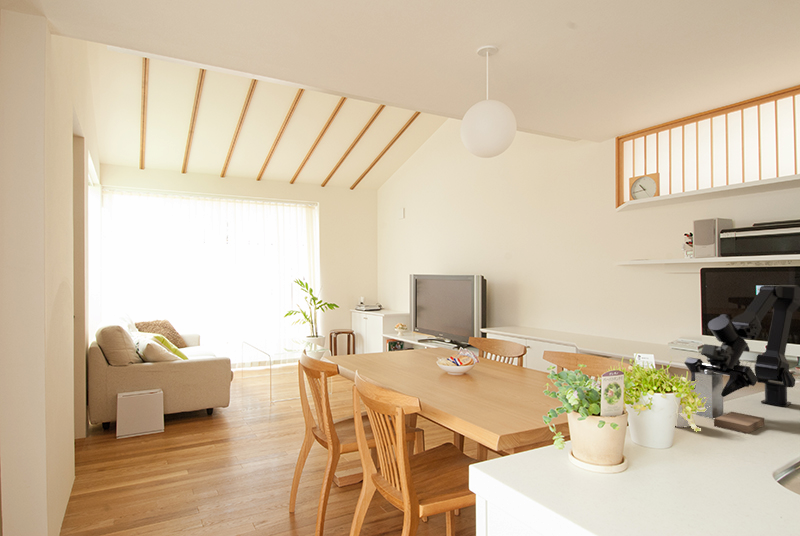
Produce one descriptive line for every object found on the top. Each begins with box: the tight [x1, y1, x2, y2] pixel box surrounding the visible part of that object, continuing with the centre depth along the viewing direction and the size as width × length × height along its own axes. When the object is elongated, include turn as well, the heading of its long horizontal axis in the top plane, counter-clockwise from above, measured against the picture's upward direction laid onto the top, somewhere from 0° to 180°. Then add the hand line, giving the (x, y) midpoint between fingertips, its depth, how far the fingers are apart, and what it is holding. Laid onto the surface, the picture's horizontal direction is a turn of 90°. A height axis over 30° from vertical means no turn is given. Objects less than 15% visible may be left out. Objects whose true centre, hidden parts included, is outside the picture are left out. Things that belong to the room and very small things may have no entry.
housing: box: [694, 369, 725, 420], centre depth 143 cm, size 5×5×14 cm
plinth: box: [713, 411, 766, 434], centre depth 134 cm, size 12×8×2 cm, turn 126°
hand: (706, 392), depth 143 cm, fingers open, 9 cm apart
